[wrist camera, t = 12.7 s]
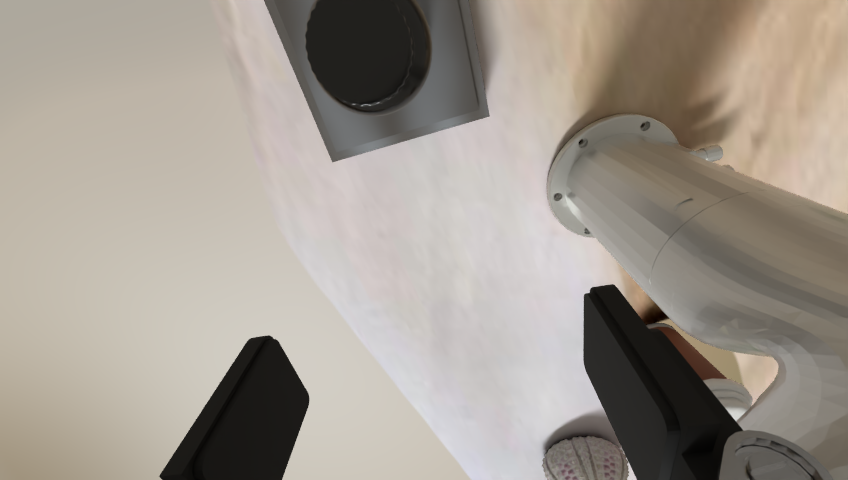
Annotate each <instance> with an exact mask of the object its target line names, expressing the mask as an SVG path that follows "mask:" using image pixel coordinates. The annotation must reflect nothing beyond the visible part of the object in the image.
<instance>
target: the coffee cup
mask: <svg viewBox="0 0 848 480" xmlns="http://www.w3.org/2000/svg"><path fill="white" fill-rule="evenodd" d="M646 326H647V327H648V328H649V329H659V330H661V331H662V332H663V333H664V334H665V335H666V336H667V337H668V338H669V340H670V341H671V342H672V343H673V345H674V346H675V347H676V348H677V349H678V351H679V352H680V353H681V354H682V356H683V357H684V358H685V359H686V361H687V362H688V363H689V364H690V365H691V367H692V368H693V369H694V370H695V372H696V373H697V374H698V375H699V376H700V378H701V379H702V380H703V381H704V383H705V384H706V385H707V386H708V388H709V389H710V390H711V391H712V392H713V394H714V395H715V396H716V397H717V399H718V400H719V401H720V402H721V404H722V405H723V406H724V407H725V408H726V410H727V411H728V412H729V413H730V415H731V416H732V417H733V418H734V419H735V421H737V420H738V419H739V418H740V417H741V416H742V415H743V414H744V413H745V412H746V411H747V410H748V409H749V408H750V407H751V405H752V397H751V395H750V394H749V392H748V391H747V389H746V388H745V387H744V386H743V385H742V384H741V383H738V382H736V381H733V380H731V379H727V378H726V377H725V376H724V375H722V374H721V373H720V372H719V371H718V370H717V369H716V368H715V367H714V366H713V365H712V364H711V363H710V362H709V361H708V360H707V359H705V358H704V357H703V356H702V355H701V354H700V353H699V352H698V351H697V350H696V349H695V348H694V347H693V346H692V345H690V343H688V342H687V341H686V340H685V339H684V338H683V337H682V336H681V335H680V334H679V333H678V332H676V330H675V329H674V328H673V327H672V326H670V325H667V324H664V323H653V324H649V325H646Z"/></svg>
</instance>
